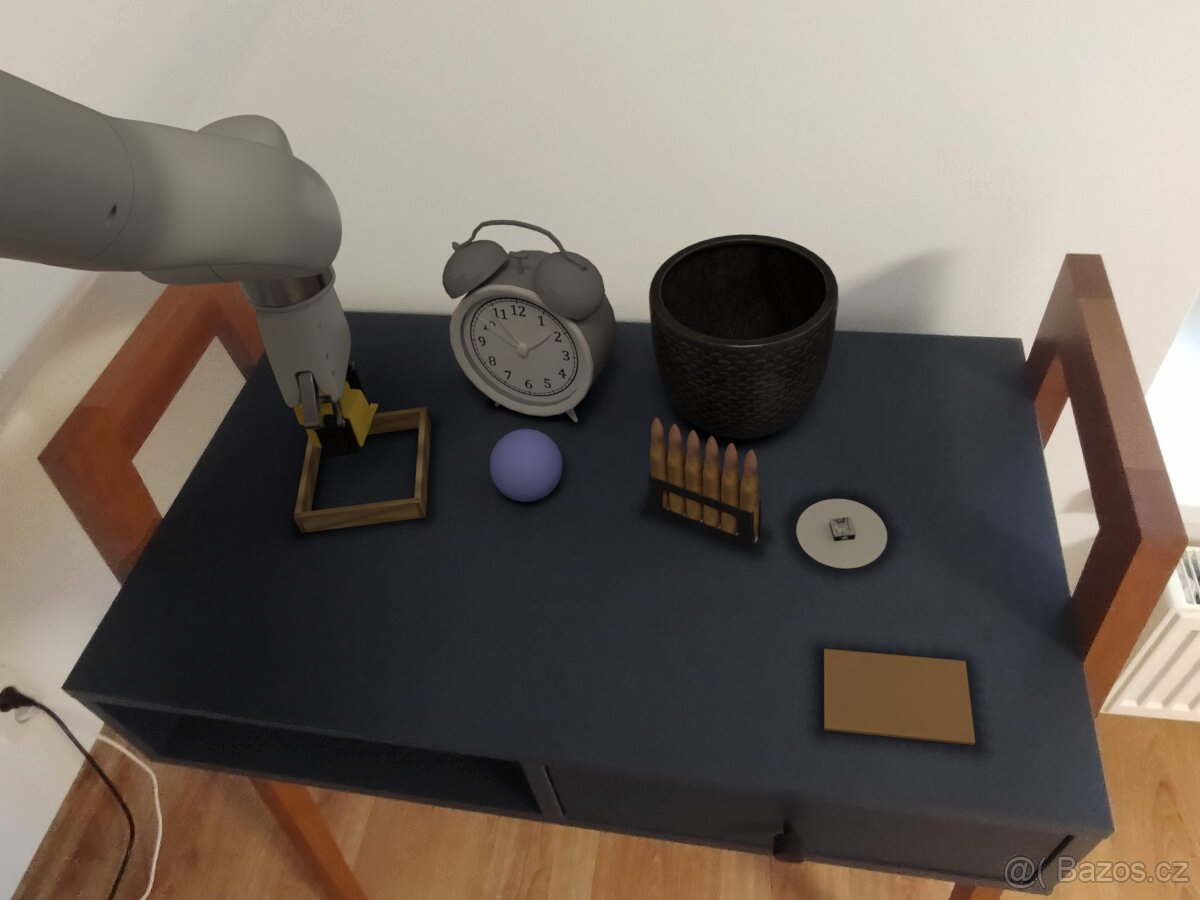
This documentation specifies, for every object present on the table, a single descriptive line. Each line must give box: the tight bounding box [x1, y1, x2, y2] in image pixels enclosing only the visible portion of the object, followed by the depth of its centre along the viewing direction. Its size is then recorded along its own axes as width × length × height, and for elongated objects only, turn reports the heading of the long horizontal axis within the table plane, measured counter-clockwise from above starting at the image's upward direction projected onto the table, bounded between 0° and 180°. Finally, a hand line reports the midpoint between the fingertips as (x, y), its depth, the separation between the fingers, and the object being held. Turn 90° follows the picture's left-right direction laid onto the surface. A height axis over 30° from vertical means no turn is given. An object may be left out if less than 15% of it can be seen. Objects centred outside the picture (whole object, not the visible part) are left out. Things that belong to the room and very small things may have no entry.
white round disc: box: [795, 498, 888, 569], centre depth 84 cm, size 8×8×1 cm
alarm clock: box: [441, 219, 618, 423], centre depth 93 cm, size 16×9×22 cm, turn 69°
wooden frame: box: [293, 406, 432, 534], centre depth 94 cm, size 13×12×2 cm
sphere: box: [489, 428, 563, 503], centre depth 89 cm, size 7×7×7 cm
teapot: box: [293, 381, 379, 449], centre depth 88 cm, size 8×6×5 cm
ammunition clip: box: [648, 417, 763, 552], centre depth 83 cm, size 11×2×12 cm, turn 60°
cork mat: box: [823, 648, 976, 746], centre depth 73 cm, size 7×11×1 cm, turn 81°
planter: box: [648, 233, 840, 443], centre depth 91 cm, size 17×17×16 cm
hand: (347, 426), depth 90 cm, fingers closed on teapot, 6 cm apart
